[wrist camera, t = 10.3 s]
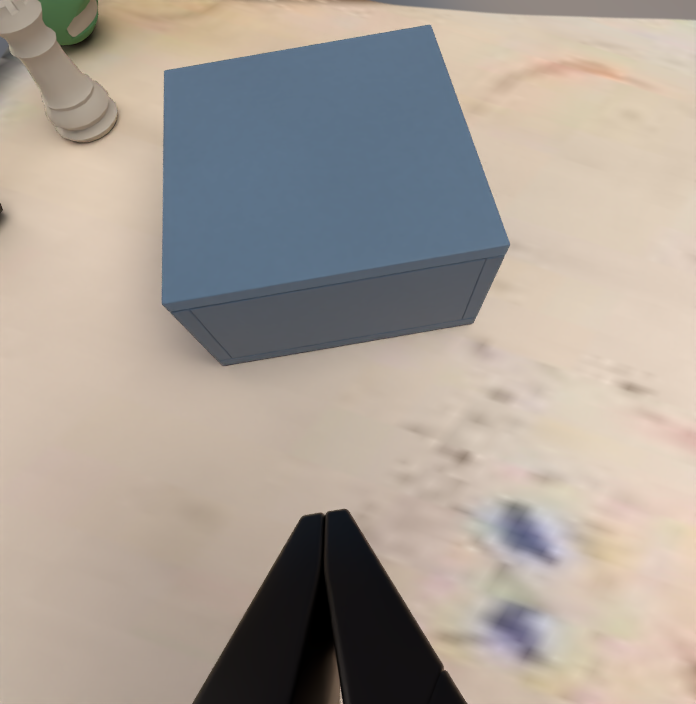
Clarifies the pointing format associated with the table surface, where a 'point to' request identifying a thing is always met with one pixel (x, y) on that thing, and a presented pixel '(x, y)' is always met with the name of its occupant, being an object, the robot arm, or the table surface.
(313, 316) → the box
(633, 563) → the table surface
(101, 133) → the rook chess piece
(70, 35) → the alien toy
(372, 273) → the lid
